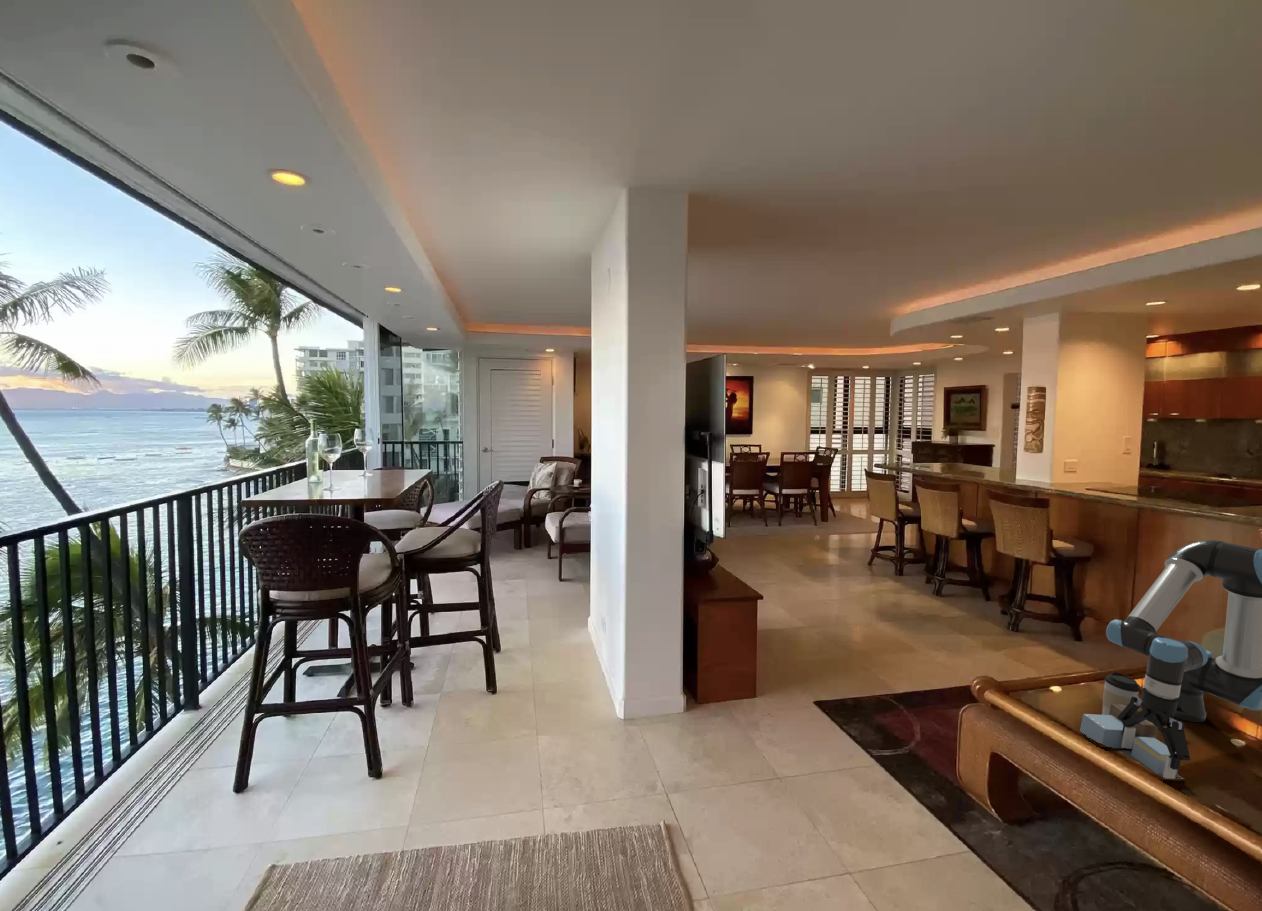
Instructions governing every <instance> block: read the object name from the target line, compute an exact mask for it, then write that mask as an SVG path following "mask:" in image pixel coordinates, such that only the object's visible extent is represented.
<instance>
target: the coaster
mask: <svg viewBox="0 0 1262 911" xmlns="http://www.w3.org/2000/svg"><path fill="white" fill-rule="evenodd" d="M1117 750H1118V749H1117ZM1118 751H1120V752H1123V754H1124V756H1127V757H1129V758H1131V759H1133V760H1135V761H1137V762H1139V763H1140V764H1141V765H1143V766H1145V765H1144V764H1143V763H1141V762H1140V761H1138V760H1137V759H1136V758H1134V757H1133V756H1131V753H1132V750H1118ZM1145 767H1146V768H1147V769H1149V770H1150V771H1152V770H1151V769H1150V768H1148V767H1147V766H1145ZM1152 772H1154V771H1152ZM1154 774H1156V775H1159V776H1161V777H1163V774H1157V773H1155V772H1154ZM1176 777H1178V778H1176ZM1180 777H1181V778H1180ZM1163 778H1164V777H1163ZM1164 779H1170V778H1164ZM1175 779H1184V778H1183V777H1182V776H1180V775H1179V774H1178V773H1177V774H1176V775H1175Z"/></svg>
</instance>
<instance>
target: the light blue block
mask: <svg viewBox="0 0 1262 911" xmlns="http://www.w3.org/2000/svg"><path fill="white" fill-rule="evenodd" d="M1131 751H1132V753H1131V756H1133V757H1134V758H1136V759H1137V760H1138V761H1140V762H1141V763H1143V764H1144V765H1145V766H1147V767H1148V768H1150V769H1151V770H1152V771H1154V772H1155V773H1157V774H1163V773H1164V768H1165V763H1166V758H1167V755H1170V753H1169V750H1168V748H1167V745H1166V743H1163V742H1162V741H1160V740H1159V739H1157V737H1156V738H1154V737H1135V739H1134V744H1133V748H1132V749H1131ZM1175 754H1176V752H1175ZM1178 771H1179V769H1178V770H1176V774H1178Z"/></svg>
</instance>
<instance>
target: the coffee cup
mask: <svg viewBox="0 0 1262 911" xmlns="http://www.w3.org/2000/svg"><path fill="white" fill-rule="evenodd" d="M1140 692H1141V685H1140V684H1139V683H1138V682H1137V681H1136V680H1135V679H1134V678H1131V677H1130V676H1128V675H1127V676H1126V675H1124V674H1122V673H1120V672H1116V671H1115V672H1112V673H1110V674H1108V675H1107V674H1106V676H1105V678H1104V686H1103V696H1102V711H1101V712H1102V713H1101V715H1109V712H1110V707H1111V704H1121V705H1128V704H1129V703H1130V700H1131V697H1139V696H1138V695H1139V693H1140Z"/></svg>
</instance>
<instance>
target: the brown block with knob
mask: <svg viewBox="0 0 1262 911" xmlns="http://www.w3.org/2000/svg"><path fill="white" fill-rule="evenodd" d="M1126 706H1127V705H1121V704H1111V707H1110V712H1109V715H1114V716H1115V717H1117V718H1118V716H1119V714H1120V713H1121V712H1122V711H1123V710H1124V709H1125V708H1126ZM1140 711H1141V710H1140V709H1138V710H1137V711H1136V712H1135V713H1134V715H1133V716H1135V715H1136V714H1137V713H1138V712H1140ZM1133 716H1132V717H1133ZM1132 727H1134V728H1136V735H1135V737H1154V738H1156V739H1157V735H1158V731H1159V730H1158V727H1157V726H1155V725H1154V724H1153V723H1152V722H1149V721H1147V720H1144V721H1142V722H1140V723H1138V724H1136V725H1134V726H1132Z"/></svg>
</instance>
